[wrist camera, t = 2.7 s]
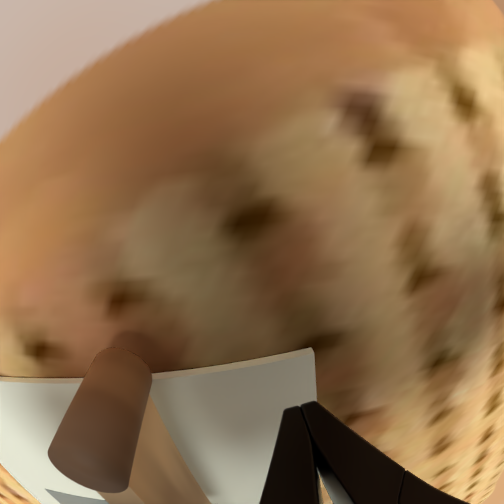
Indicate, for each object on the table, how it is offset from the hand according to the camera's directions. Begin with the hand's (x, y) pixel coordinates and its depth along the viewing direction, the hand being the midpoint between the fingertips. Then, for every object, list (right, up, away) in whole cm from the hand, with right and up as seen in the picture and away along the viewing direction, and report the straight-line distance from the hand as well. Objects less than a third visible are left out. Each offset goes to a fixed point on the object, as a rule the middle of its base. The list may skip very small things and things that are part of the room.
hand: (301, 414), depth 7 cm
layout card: (-6, -9, +4) cm, 12 cm away
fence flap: (-4, -2, +1) cm, 5 cm away
